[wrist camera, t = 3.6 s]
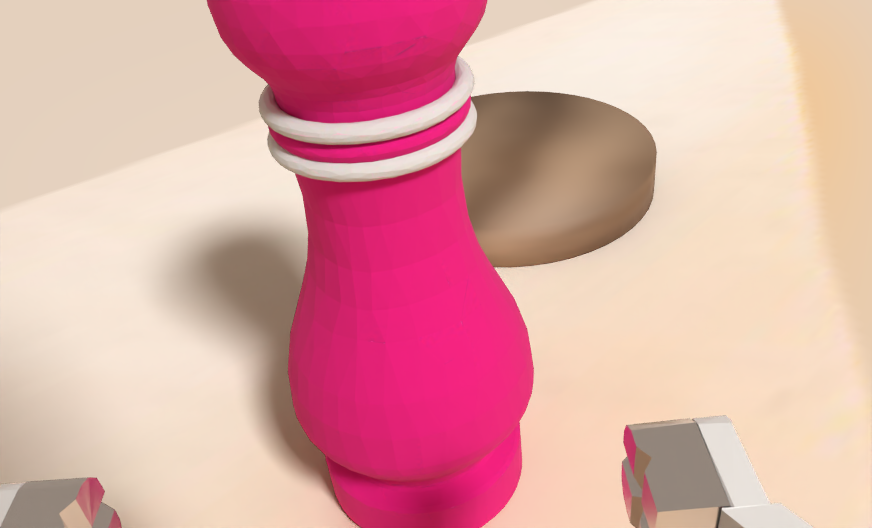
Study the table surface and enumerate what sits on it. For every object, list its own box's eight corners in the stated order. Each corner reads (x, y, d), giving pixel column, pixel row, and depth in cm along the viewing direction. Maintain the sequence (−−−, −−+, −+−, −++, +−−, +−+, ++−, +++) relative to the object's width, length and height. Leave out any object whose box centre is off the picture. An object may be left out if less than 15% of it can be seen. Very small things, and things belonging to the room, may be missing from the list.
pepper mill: (381, 607, 22) (172, -226, 10) (285, 446, 27) (73, -229, 16) (583, 485, 25) (594, -287, 13) (460, 360, 30) (390, -272, 18)
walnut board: (329, 247, 37) (320, 211, 36) (429, 117, 48) (426, 86, 46) (630, 285, 33) (633, 245, 31) (669, 132, 43) (672, 98, 42)
